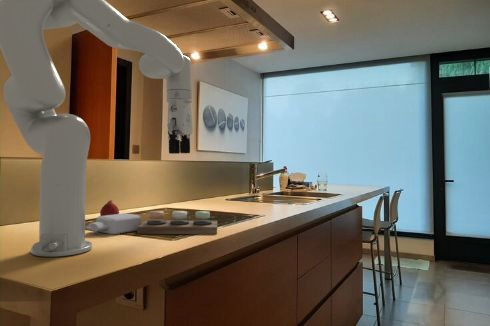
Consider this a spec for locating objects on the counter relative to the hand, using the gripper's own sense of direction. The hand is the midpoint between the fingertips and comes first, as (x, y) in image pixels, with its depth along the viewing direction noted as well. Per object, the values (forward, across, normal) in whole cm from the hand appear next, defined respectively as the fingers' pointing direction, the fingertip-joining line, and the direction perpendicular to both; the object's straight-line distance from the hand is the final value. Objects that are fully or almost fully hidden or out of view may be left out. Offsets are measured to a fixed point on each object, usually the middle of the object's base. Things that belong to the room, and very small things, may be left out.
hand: (179, 153), depth 113 cm
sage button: (+20, +1, -7) cm, 21 cm away
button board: (+24, -1, 0) cm, 24 cm away
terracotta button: (+20, -2, +7) cm, 21 cm away
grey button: (+20, -1, 0) cm, 20 cm away
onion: (+23, +3, +26) cm, 35 cm away
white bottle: (+23, -9, +19) cm, 31 cm away
